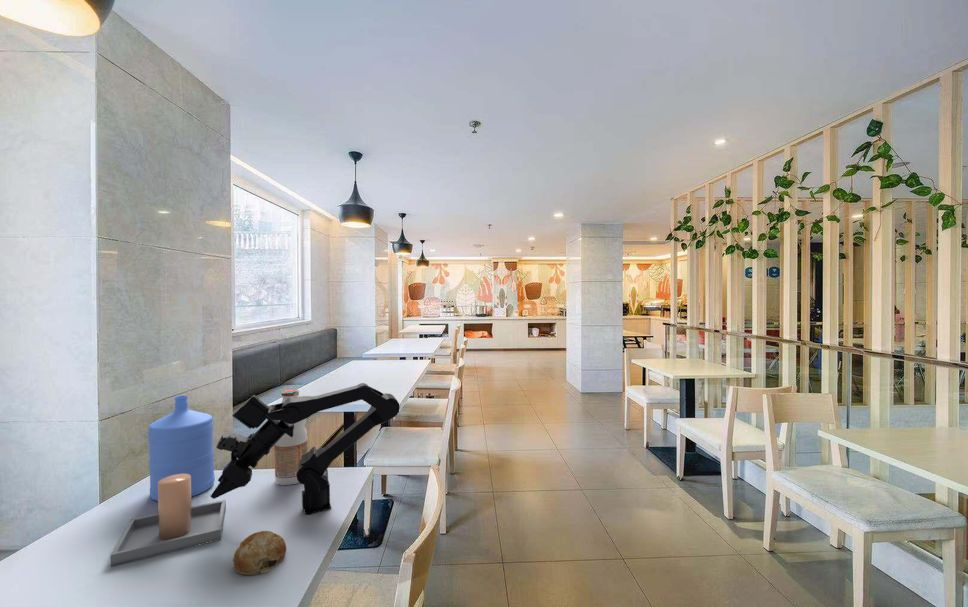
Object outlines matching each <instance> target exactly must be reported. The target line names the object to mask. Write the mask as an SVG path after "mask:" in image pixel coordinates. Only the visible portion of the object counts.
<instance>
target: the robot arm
mask: <svg viewBox="0 0 968 607" xmlns="http://www.w3.org/2000/svg"><path fill="white" fill-rule="evenodd" d="M358 401H363V402H365V403H367V404H368V405H370V407H369V409H368V410H367V411H366V413H365V414H364V415H363V416H361V417H360V418H359V419H358V420H356V421H355V422H354V423H352V424H351V425H350V426H349V427H348V428H346V429H345V430H343V432H341V433H340V434H339V435H338V436H336V437H335V438H333V439H332V441H330V442H329V443H327V445H324V447H321V448H319V449H317V448H316V447H315V446H312V447H311V449H310V450H309V451H308V453H306V454H304V455H302V458H301V460H300V461H299V463H298V468H297V480H298V481H299V483H300V484H301V485H303V490H302V491H301V507H302V510H304V514H305V515H311V514H315V513H319V512H322V511H328V510H331V509H332V504H331V495H330V494H331V493H330V492H331V490H330V488H331V487H330V486H331V484H330V482H329V472H328V468H329V467H330V465H331V464H332V463H333V461H335V459H337V458H338V457H339V456H340V455H342V454H343V453H344V452H346V450H348V449H349V448H351V446H353V445H354V444H356V442H358V441H359V440H360V439H361V438H363V437H364V435H366V434H367V433H369V432H370V431H371V430H372V429H373V428H374V427H375V428H376V427H377V426H380V425H382V424H384V423H386V422H388V421H390V420H391V419H394V418H395V417H396V416H397V415H398V414H400V413H399V412H400V409H401V406H400V403H399V401H398V400H397V398H396V397H395V395H393V394H392V393H387V392H385V393H383V392H381V391H379V390H378V389H375V388H374V387H371V386H369V385H368V384H367V383H365V382H360V383H359V384H357V385H353V386H350V387H345V388H341V389H338V390H333V391H330V392H326V393H322V394H319V395H313V396H311V395H303V396H298V397H291V398H289V399H287V400H285V402H284V403H282V402H279V403H276V404H271V405H269V406H268V405H267V404H266V403H264V401H262V400H261V399H260V398H259V397H258V396H257V395H256V394H254V395H252V396H251V397H250V398H248V399H247V400H246V401H244V402H243V403H241V405H240V406H239V407H238V408H237V409H236V410H235V411H234V412H233V414H231V416H232V418H234V419H236V420H237V421H238V422H240V423H241V424H243V426H245V427H246V428H247V429H249V430H251V429H258V428H259V427H260V428H259V429H258V430H256V432H253V433H251V434H249V435H248V436H245V435H243V434H240V433H237V432H232V431H227V430H225V431H224V432H223V433H222V434H221V437H220V439H219V441H218V443H217V445H216V450H217V449H218V450H221V451H223V450H224V451H228V452H230V461H229V462H228V463H227V464H226V466H225V467H224V468H223V470H222V472H221V474H220V476H219V478H218V479H217V481H218V482H219V483H218V484H217V486H216V487H215V488H214V490H213V492H212V493H211V494H210V498H212V499H213V500H215V499H217V498H218V497H221V496H223V495H225V494H227V493H229V492H232V491H233V490H237V489H239V488H242V487H246V486H247V485H248V484H249V483H250V481H252V480H251V479H252V477H253V469H255V468H256V467H257V466H258V462H260V460H261V459H262V458H264V456H265V455H266V456H267V455H268V454H269V453H270V451H271V449H272V448H273V447H275V444H276V443H277V442H278V440H279V439H280V438H281V437H282V436H283V435H284V434H285V433H286V434H287V435H289V436H290V437H293V434H294V430H293V429H294V424H295V423H297V422H299V421H302V420H304V419H306V418H307V419H308V418H310V417H311V416H314V415H315V414H317V413H319V412H322V411H325V410H329V409H333V408H337V407H340V406H344V405H347V404H350V403H355V402H358ZM307 419H306V420H307ZM289 424H292V425H289ZM252 468H253V469H252ZM299 483H298V484H299Z"/></svg>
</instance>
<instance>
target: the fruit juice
mask: <svg viewBox="0 0 968 607" xmlns="http://www.w3.org/2000/svg"><path fill="white" fill-rule="evenodd" d="M299 393H300V391H299V389H286V390H283V391H282V392H281V398H282V401H281V403H284V402H285V400H287V399H289V398H291V397H300V396H299ZM307 419H308V418H306V419H304V420H302V421H299V422H297V423H295V424H294V429H293V430H294V434H293V437H290V436H289V435H287V434H286V433H285V434H284V435H283V436H282V437H281V438H280V439H279V440H278V442H277V443H276V444H275V445H274V479H275V483H276V484H277V483H278V484H277V485H279V484H280V486H292V485H296V484H299V481H298V480H297V468H298V463H299V461H300V460H301V458H302V455H304V454H306V453H308V452H309V451H308V450H309V448H308V431H307V428H306V422H307ZM289 425H292V424H289ZM291 484H292V485H291Z"/></svg>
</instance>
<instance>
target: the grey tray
mask: <svg viewBox="0 0 968 607" xmlns="http://www.w3.org/2000/svg"><path fill="white" fill-rule="evenodd" d="M226 501H227V500H226V499H222V500H218V501H213V502H207V503H203V504H198V505H194V506H191V518H192V529H191V530H190V531H189V532H188V533H187V534H185V535H183V536H181V537H178V538H174V539H170V540H162V539H160V538H159V514H158V513H156V514H155V513H154V514H150V515H145V516H140V517H136V518H132V519H130V521H129V522H128V524H127V526H126V528H125V529H124V531H123V533H122V534H121V535H120V538H119V540H118V542H117V543H116V545H115V547H114V549H113V550H112V552H111V554H110V567H115V566H118V565H123V564H127V563H131V562H135V561H140V560H143V559H147V558H151V557H155V556H156V557H157V556H159V555H164V554H167V553H171V552H176V551H179V550H180V551H181V550H184V549H188V547H189V548H192V546H193V547H196V546H195V545H197V546H200V545H199V544H201V545H204V544H203V543H205V544H207V543H206V542H209V543H211V542H210V541H213V542H216V541H215V540H217V541H221V540H220V539H222V536H223V529H224V522H225V515H226V509H227V503H226ZM221 535H222V536H221Z"/></svg>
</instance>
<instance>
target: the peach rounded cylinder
mask: <svg viewBox="0 0 968 607" xmlns="http://www.w3.org/2000/svg"><path fill="white" fill-rule="evenodd" d="M157 504H158V505H157V506H158V510H157V511H158V513H157V514H159V538H160V539H162V540H170V539H174V538H178V537H181V536H183V535H185V534H187V533H188V532H189V531H190V530H191V529H192V518H191V507H192V497H191V475H189V474H176V475H172V476H168V477H166V478H163V479H161V480H160V481H159V482H158V501H157Z"/></svg>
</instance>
